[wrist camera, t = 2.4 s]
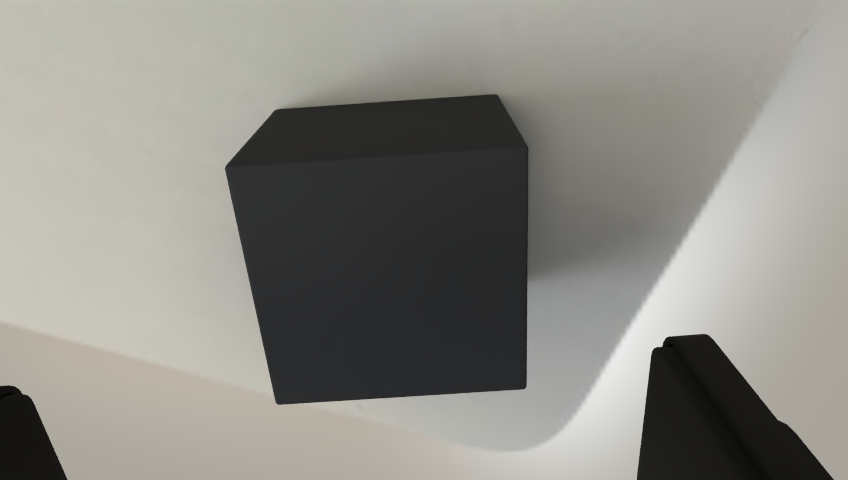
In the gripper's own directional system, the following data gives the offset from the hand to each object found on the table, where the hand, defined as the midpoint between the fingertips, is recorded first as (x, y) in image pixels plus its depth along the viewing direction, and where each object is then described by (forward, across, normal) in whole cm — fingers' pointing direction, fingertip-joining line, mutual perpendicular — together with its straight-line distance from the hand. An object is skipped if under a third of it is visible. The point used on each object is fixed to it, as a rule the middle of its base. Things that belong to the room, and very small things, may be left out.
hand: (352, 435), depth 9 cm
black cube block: (+10, -1, 0) cm, 10 cm away
